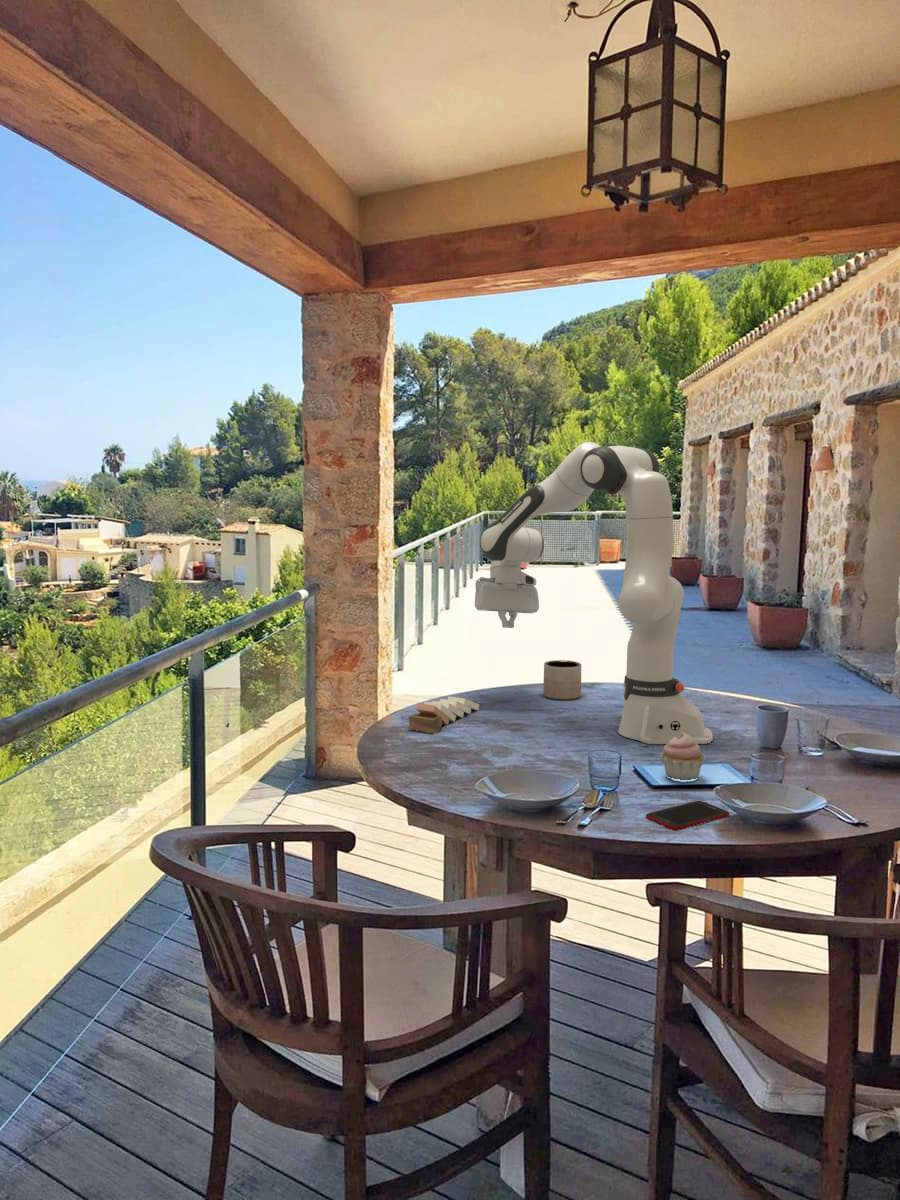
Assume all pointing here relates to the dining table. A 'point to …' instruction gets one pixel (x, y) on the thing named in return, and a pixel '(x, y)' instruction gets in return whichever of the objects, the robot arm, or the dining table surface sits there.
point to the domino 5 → (465, 702)
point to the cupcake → (682, 758)
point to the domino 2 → (443, 710)
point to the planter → (562, 679)
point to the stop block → (425, 723)
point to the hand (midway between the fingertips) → (508, 627)
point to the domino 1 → (432, 712)
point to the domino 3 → (452, 709)
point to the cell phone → (687, 815)
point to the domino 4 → (458, 705)
